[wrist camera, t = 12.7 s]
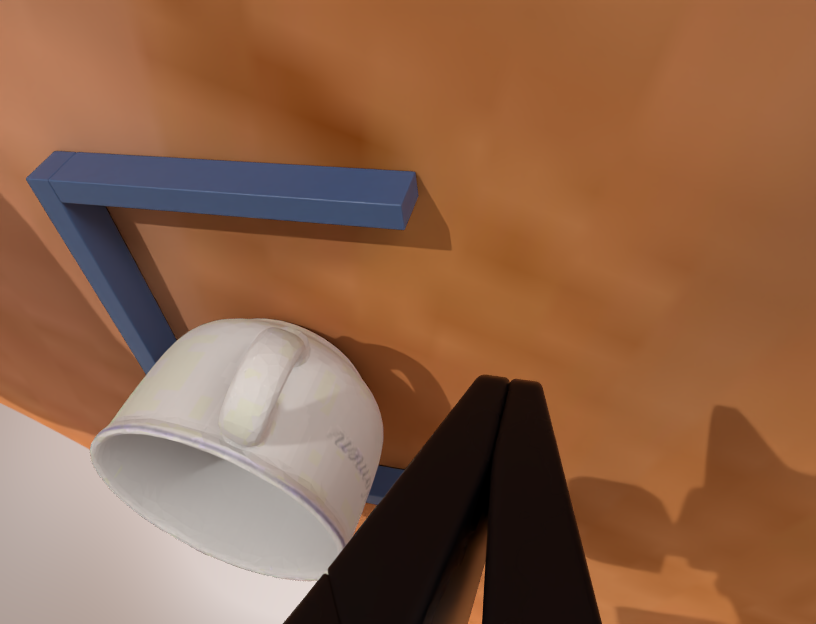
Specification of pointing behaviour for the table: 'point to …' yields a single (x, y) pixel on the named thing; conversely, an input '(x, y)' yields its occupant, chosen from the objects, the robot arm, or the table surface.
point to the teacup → (248, 446)
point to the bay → (205, 194)
